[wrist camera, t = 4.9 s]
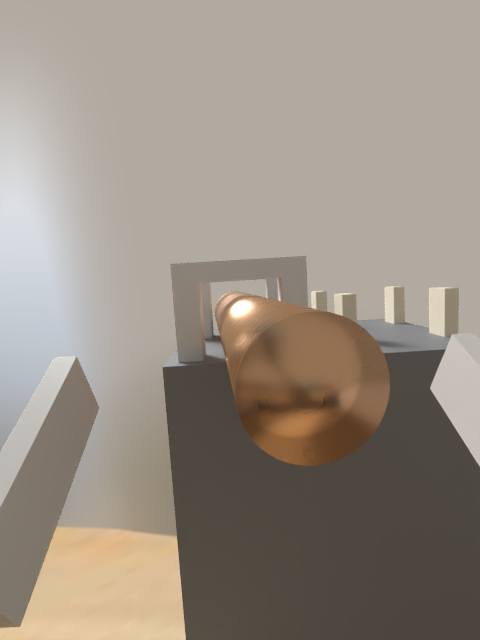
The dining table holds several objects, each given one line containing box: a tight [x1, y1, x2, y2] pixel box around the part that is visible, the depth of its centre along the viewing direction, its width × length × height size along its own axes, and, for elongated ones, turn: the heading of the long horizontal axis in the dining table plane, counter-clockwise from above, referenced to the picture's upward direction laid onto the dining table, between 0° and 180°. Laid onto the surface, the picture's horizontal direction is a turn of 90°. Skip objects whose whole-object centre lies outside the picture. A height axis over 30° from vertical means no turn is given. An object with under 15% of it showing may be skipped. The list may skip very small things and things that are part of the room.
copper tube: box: [215, 291, 390, 466], centre depth 22 cm, size 26×4×4 cm
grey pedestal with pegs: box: [163, 256, 480, 640], centre depth 30 cm, size 21×16×34 cm
